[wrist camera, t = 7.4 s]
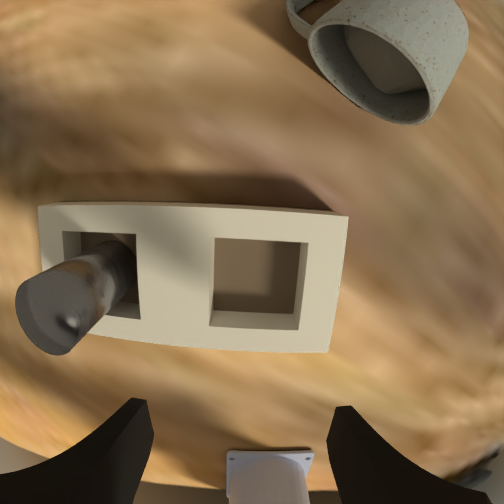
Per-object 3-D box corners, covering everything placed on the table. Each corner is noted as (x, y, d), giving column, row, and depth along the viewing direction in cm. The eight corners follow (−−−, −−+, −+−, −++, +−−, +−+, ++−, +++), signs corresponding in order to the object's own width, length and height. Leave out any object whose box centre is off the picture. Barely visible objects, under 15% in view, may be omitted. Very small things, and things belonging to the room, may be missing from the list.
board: (318, 329, 20) (328, 352, 17) (72, 308, 19) (51, 325, 16) (333, 210, 18) (348, 216, 15) (62, 201, 17) (37, 205, 15)
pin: (144, 290, 18) (87, 356, 10) (98, 295, 18) (31, 353, 10) (132, 236, 17) (61, 275, 10) (86, 244, 17) (6, 281, 10)
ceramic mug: (438, 63, 15) (501, 29, 8) (389, 136, 17) (460, 115, 9) (322, -24, 14) (346, -89, 6) (256, 38, 15) (256, -34, 8)
